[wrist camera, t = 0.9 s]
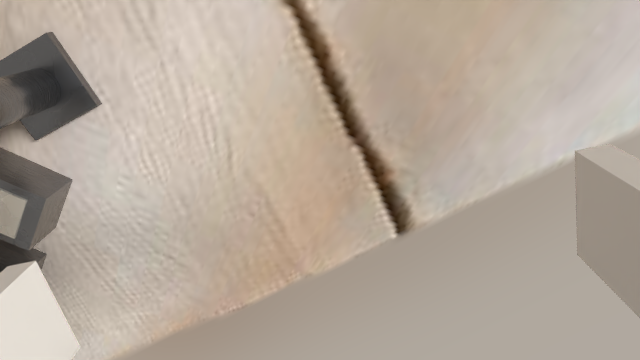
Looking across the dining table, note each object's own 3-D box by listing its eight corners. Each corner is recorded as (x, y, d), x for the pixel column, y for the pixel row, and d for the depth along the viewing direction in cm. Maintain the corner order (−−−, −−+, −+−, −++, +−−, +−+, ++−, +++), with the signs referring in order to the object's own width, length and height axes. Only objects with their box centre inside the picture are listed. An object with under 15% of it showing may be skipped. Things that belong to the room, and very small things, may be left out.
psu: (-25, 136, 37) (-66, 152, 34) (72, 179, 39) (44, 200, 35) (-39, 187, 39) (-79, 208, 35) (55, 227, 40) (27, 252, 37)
